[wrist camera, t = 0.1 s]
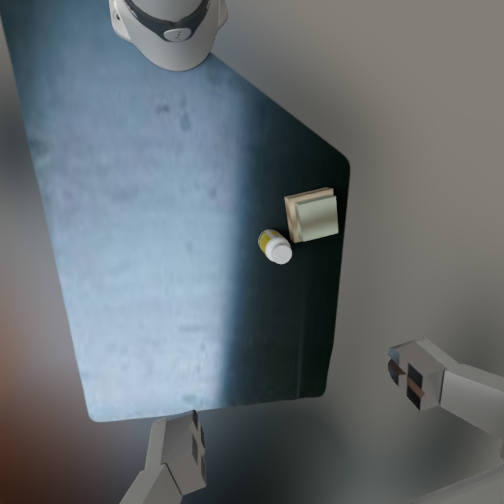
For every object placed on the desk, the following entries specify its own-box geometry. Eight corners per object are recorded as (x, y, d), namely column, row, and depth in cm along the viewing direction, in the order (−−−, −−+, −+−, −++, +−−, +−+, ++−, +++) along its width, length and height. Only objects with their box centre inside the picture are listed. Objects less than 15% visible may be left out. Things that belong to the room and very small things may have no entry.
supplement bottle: (261, 254, 61) (273, 271, 52) (255, 233, 59) (265, 247, 50) (283, 246, 61) (298, 261, 52) (277, 225, 59) (291, 237, 50)
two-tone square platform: (284, 197, 57) (293, 201, 52) (326, 187, 58) (340, 190, 53) (290, 239, 61) (299, 247, 55) (329, 229, 62) (342, 236, 57)
